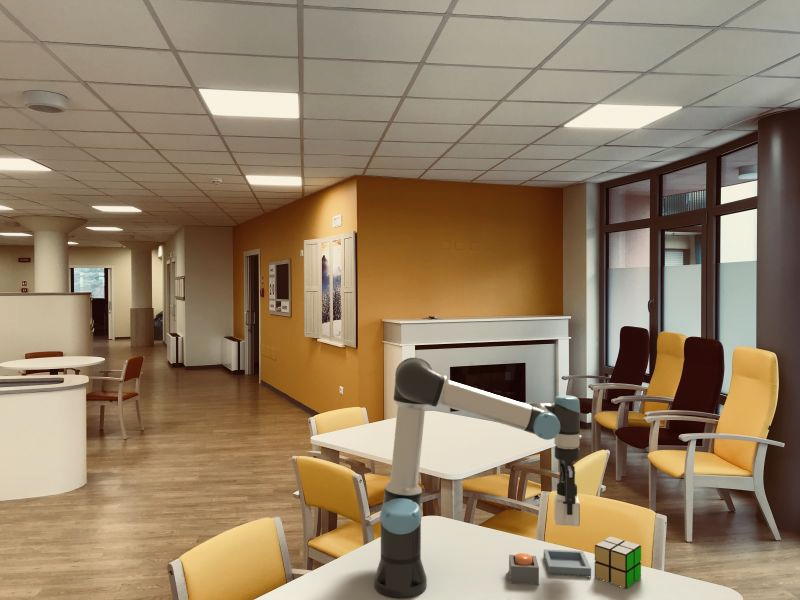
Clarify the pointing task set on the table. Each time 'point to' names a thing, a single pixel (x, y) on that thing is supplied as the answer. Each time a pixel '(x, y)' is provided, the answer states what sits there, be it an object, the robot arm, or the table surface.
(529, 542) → the table surface
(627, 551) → the puzzle cube
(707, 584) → the table surface
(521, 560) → the button
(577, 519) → the medicine bottle
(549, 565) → the tray
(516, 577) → the button housing
